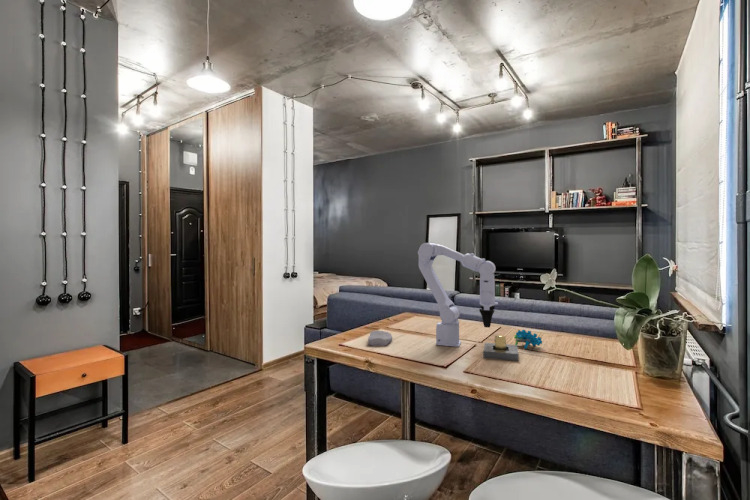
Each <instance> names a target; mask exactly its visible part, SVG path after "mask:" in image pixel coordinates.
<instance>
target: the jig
mask: <svg viewBox="0 0 750 500" xmlns="http://www.w3.org/2000/svg"><path fill="white" fill-rule="evenodd" d="M482 357H483V359H493V360H503V361H512V362H519V349H518V344H517V345H515V344H509V343H506V351H504V350H495V342H484V346H483V356H482Z"/></svg>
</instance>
